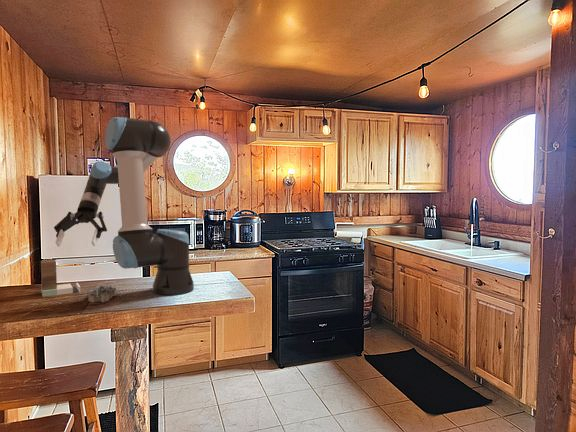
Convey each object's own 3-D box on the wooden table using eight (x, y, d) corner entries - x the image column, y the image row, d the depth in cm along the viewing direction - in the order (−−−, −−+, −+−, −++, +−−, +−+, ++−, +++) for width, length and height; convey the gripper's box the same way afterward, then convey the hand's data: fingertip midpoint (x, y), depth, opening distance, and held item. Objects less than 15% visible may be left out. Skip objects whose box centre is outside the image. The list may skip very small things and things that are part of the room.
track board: (80, 292, 147) (80, 286, 147) (42, 296, 140) (42, 291, 140) (77, 287, 153) (77, 282, 152) (41, 292, 146) (41, 287, 145)
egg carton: (107, 303, 135) (107, 291, 135) (84, 303, 135) (84, 291, 134) (118, 294, 146) (118, 283, 145) (97, 294, 145) (97, 283, 145)
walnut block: (56, 288, 143) (56, 261, 143) (42, 290, 141) (41, 262, 140) (55, 286, 147) (54, 259, 146) (41, 287, 145) (40, 260, 144)
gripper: (121, 210, 176) (110, 249, 162) (62, 211, 173) (46, 250, 159) (116, 199, 170) (105, 237, 156) (55, 199, 168) (38, 238, 154)
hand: (75, 244), depth 158 cm, fingers open, 13 cm apart
